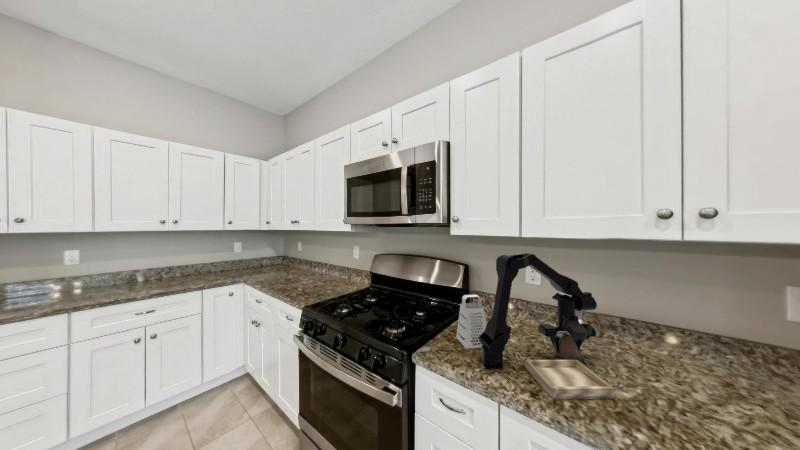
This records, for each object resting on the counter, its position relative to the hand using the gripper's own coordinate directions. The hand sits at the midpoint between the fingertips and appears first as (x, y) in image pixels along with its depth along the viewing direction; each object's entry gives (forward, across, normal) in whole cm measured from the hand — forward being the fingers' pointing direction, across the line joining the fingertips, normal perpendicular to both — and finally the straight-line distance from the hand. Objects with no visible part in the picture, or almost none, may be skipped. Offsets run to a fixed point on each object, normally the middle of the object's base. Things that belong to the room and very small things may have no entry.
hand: (566, 352), depth 97 cm
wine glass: (+2, +14, +18) cm, 23 cm away
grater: (+2, -32, +14) cm, 35 cm away
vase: (+2, 0, 0) cm, 2 cm away
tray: (+2, -10, -15) cm, 18 cm away
